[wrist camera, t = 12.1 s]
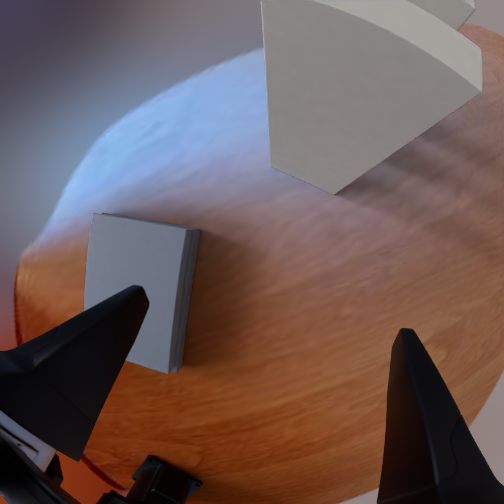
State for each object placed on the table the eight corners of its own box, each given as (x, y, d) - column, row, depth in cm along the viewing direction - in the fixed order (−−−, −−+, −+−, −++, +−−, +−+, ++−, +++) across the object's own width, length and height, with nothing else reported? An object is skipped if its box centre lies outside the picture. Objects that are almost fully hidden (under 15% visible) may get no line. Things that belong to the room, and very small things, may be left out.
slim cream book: (333, 195, 19) (483, 92, 3) (269, 166, 20) (258, -14, 4) (341, 175, 19) (482, 49, 3) (278, 147, 19) (285, -43, 3)
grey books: (182, 366, 21) (171, 381, 18) (99, 339, 21) (83, 349, 19) (201, 229, 20) (191, 228, 18) (109, 213, 21) (92, 211, 18)
